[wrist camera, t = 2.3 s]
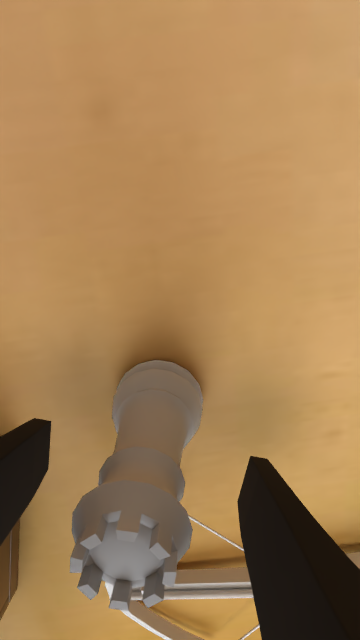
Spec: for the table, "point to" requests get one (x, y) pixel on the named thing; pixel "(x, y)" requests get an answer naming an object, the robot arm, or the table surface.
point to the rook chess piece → (140, 489)
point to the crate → (8, 568)
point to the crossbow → (196, 593)
